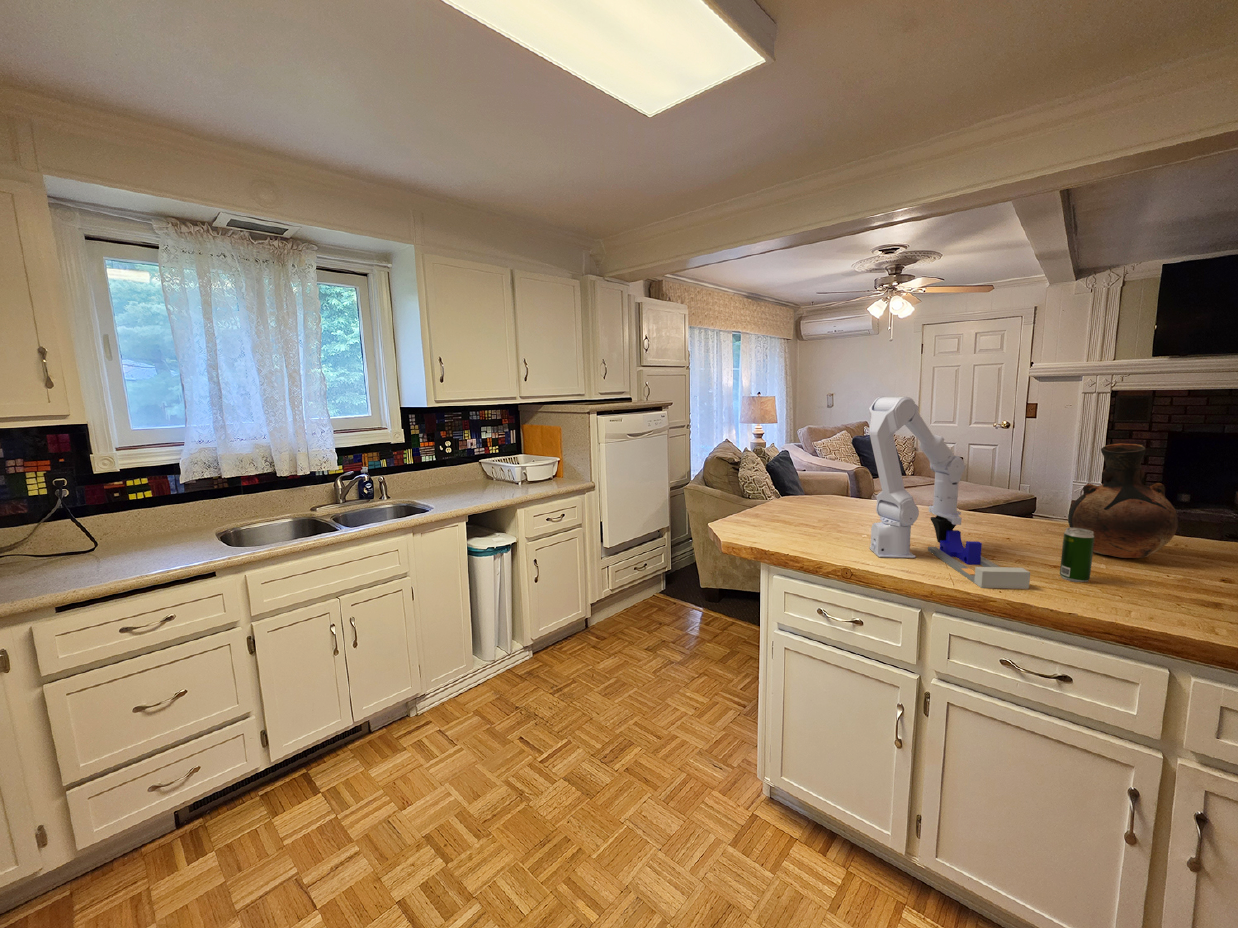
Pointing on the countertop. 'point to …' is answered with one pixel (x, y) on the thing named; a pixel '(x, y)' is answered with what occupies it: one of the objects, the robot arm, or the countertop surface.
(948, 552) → the cable clip
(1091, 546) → the beer can
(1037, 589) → the countertop surface
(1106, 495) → the ceramic vessel
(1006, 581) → the cable guide
